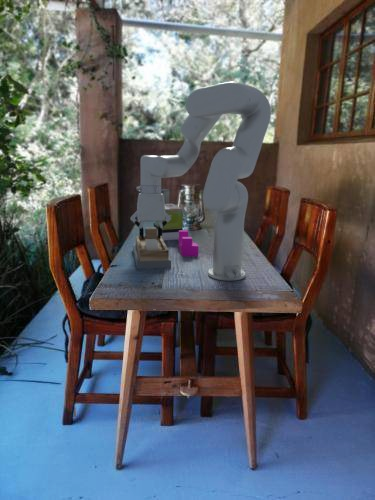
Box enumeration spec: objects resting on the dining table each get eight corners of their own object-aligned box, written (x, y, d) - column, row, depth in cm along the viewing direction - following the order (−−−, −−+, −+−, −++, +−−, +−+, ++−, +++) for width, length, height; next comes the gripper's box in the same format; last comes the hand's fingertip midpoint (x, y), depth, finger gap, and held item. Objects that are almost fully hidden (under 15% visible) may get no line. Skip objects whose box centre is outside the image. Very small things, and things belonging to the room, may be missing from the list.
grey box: (157, 252, 144) (158, 241, 143) (146, 252, 143) (146, 241, 142) (156, 249, 148) (156, 238, 147) (145, 249, 147) (145, 239, 146)
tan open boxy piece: (168, 260, 142) (168, 235, 139) (140, 261, 140) (139, 235, 138) (160, 243, 165) (160, 222, 162) (135, 244, 163) (135, 222, 160)
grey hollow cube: (154, 211, 258) (154, 188, 254) (178, 211, 261) (179, 188, 257) (156, 215, 244) (156, 191, 241) (182, 215, 247) (182, 191, 243)
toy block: (198, 257, 159) (198, 238, 157) (182, 257, 158) (182, 238, 156) (193, 247, 173) (193, 230, 171) (178, 247, 172) (178, 230, 171)
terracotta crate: (64, 405, 174) (64, 413, 175) (65, 410, 171) (66, 418, 172) (73, 403, 176) (74, 411, 177) (75, 408, 173) (75, 416, 174)
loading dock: (171, 268, 143) (171, 260, 142) (137, 269, 140) (137, 261, 140) (162, 249, 167) (162, 242, 167) (133, 250, 165) (132, 243, 164)
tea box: (152, 233, 196) (152, 203, 192) (172, 232, 200) (172, 203, 196) (162, 240, 183) (162, 208, 179) (182, 239, 186) (183, 207, 182)
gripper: (127, 191, 142) (128, 240, 147) (175, 191, 145) (174, 240, 150) (126, 188, 149) (127, 236, 154) (172, 188, 152) (171, 235, 157)
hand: (150, 237), depth 152 cm, fingers open, 5 cm apart
